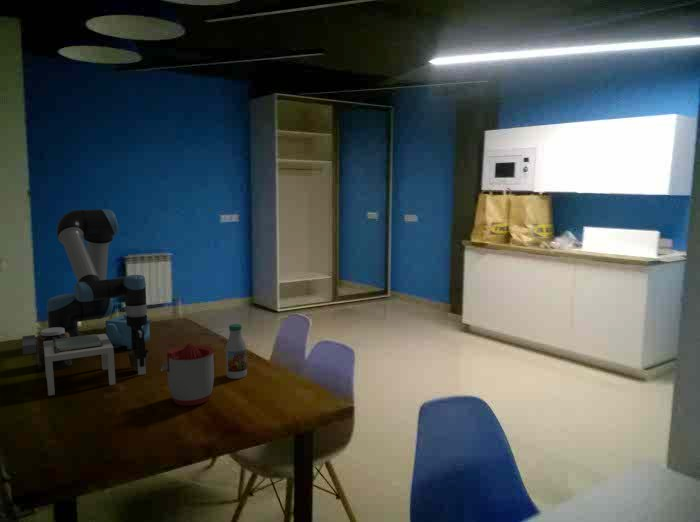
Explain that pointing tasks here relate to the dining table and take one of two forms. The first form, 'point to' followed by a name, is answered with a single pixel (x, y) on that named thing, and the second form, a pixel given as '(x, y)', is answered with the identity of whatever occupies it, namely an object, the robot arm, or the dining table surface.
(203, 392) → the citrus juicer
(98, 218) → the robot arm
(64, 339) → the trapdoor
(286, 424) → the dining table surface
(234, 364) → the milk bottle
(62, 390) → the dining table surface
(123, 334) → the teakettle
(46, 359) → the frame
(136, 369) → the cup
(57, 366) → the jar
